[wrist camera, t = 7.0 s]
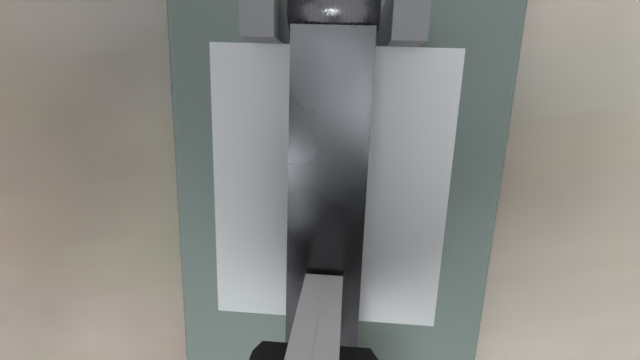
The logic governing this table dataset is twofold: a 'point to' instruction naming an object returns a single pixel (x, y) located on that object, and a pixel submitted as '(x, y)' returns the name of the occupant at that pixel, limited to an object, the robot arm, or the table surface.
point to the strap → (329, 147)
